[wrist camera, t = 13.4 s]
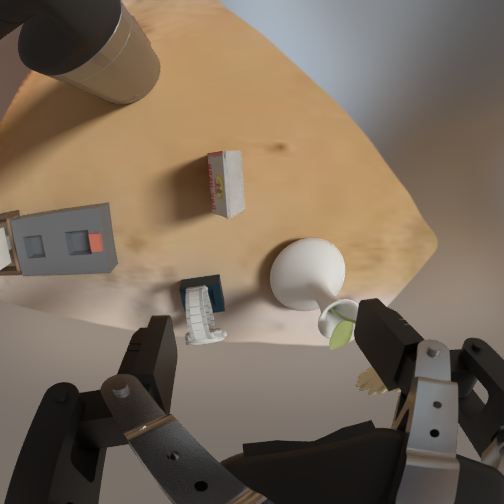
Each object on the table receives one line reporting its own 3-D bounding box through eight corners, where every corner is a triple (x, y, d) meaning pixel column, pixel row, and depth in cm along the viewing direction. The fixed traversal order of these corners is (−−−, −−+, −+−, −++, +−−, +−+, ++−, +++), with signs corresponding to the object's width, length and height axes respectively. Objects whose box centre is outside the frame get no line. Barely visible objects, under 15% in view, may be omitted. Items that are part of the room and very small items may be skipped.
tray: (-13, 216, 33) (-23, 220, 30) (18, 209, 34) (8, 214, 31) (-2, 269, 36) (-11, 275, 33) (30, 268, 37) (21, 274, 34)
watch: (190, 316, 42) (184, 362, 32) (179, 268, 40) (167, 306, 29) (226, 311, 43) (229, 357, 33) (218, 262, 40) (218, 300, 30)
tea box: (237, 151, 36) (244, 149, 26) (241, 202, 38) (248, 217, 28) (209, 154, 35) (205, 152, 26) (213, 204, 38) (211, 220, 28)
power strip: (22, 215, 34) (8, 221, 30) (109, 202, 36) (97, 208, 32) (33, 267, 37) (20, 277, 33) (117, 263, 38) (108, 274, 35)
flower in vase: (264, 305, 43) (306, 443, 20) (271, 232, 40) (341, 340, 16) (342, 303, 45) (424, 413, 21) (355, 236, 41) (472, 320, 18)
